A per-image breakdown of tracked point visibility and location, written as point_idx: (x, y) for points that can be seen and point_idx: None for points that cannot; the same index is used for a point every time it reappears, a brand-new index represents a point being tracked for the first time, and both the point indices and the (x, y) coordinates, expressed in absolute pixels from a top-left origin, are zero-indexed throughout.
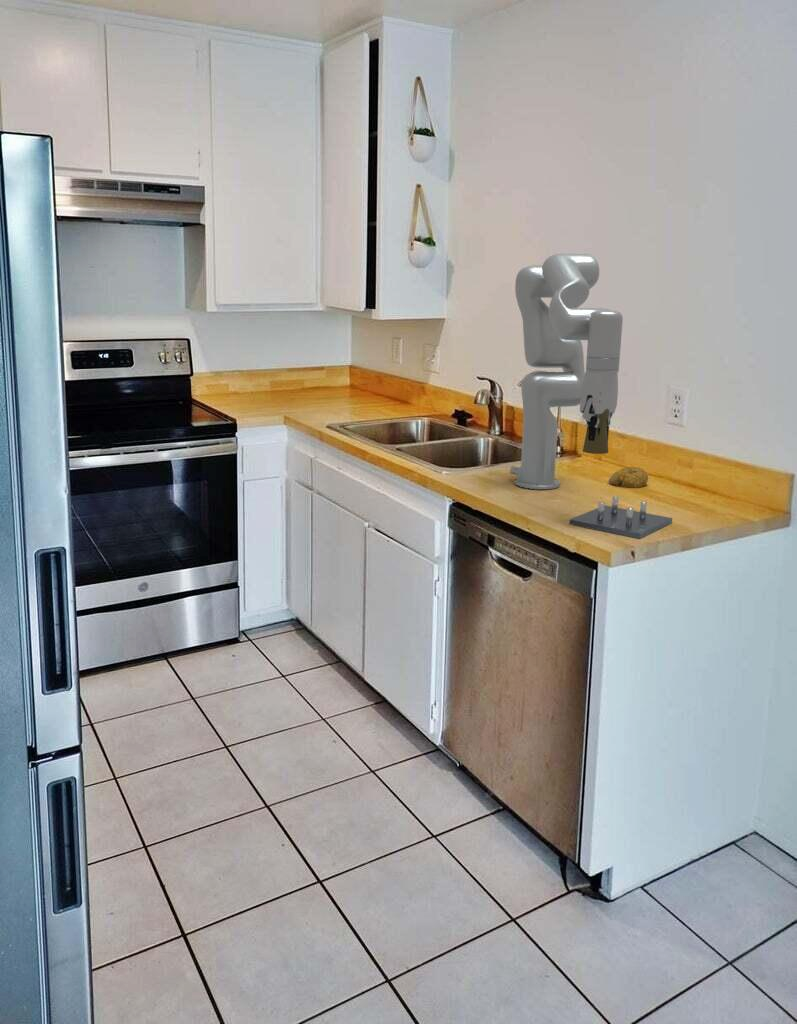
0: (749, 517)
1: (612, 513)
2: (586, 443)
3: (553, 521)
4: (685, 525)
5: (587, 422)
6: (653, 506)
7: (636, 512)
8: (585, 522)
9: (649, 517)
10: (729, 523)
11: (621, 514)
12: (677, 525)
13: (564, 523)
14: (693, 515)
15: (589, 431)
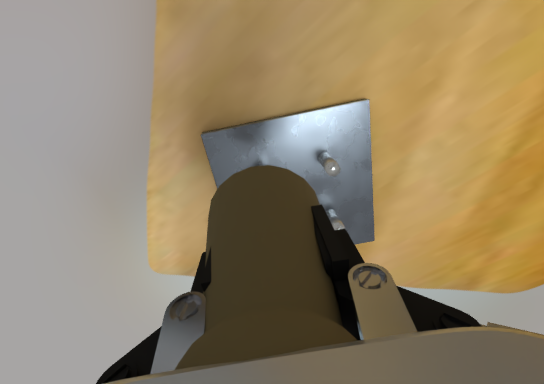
0: (492, 279)
1: (318, 157)
2: (208, 228)
3: (187, 93)
4: (372, 254)
5: (136, 353)
6: (468, 146)
7: (362, 181)
8: (212, 171)
9: (347, 217)
10: (434, 281)
11: (325, 173)
12: (363, 247)
13: (198, 121)
14: (447, 227)
15: (194, 288)
